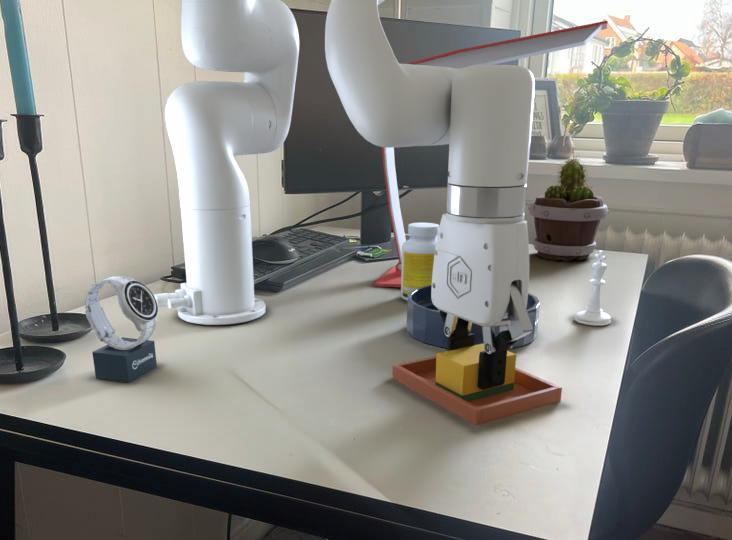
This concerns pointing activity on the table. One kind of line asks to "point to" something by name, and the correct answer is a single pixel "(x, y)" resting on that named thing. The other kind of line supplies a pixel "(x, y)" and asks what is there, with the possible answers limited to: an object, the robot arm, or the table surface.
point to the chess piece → (595, 297)
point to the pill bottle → (418, 257)
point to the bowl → (430, 325)
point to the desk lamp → (467, 58)
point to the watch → (123, 354)
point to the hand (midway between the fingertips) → (474, 376)
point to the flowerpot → (567, 216)
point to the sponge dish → (522, 398)
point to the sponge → (469, 373)
